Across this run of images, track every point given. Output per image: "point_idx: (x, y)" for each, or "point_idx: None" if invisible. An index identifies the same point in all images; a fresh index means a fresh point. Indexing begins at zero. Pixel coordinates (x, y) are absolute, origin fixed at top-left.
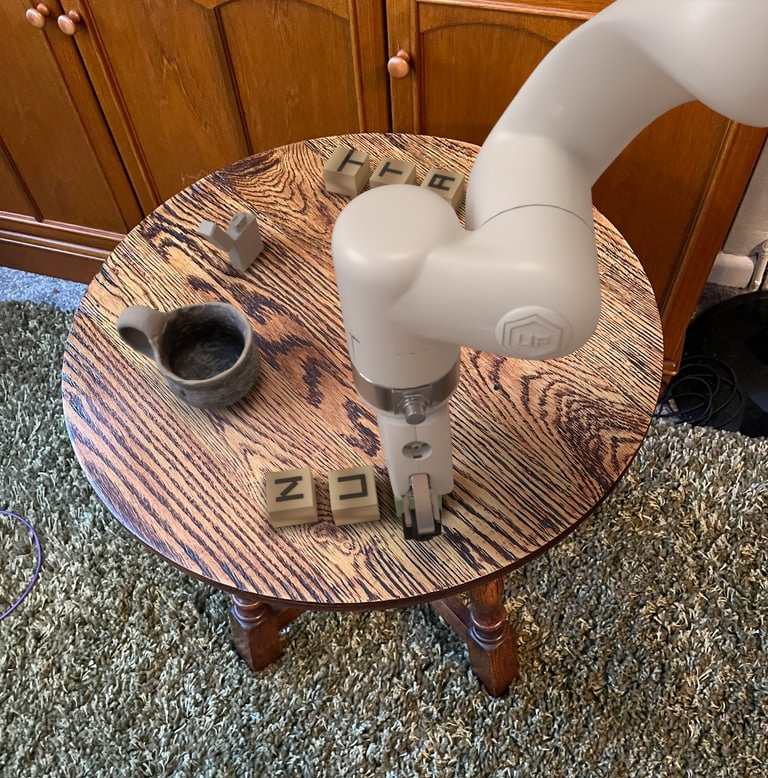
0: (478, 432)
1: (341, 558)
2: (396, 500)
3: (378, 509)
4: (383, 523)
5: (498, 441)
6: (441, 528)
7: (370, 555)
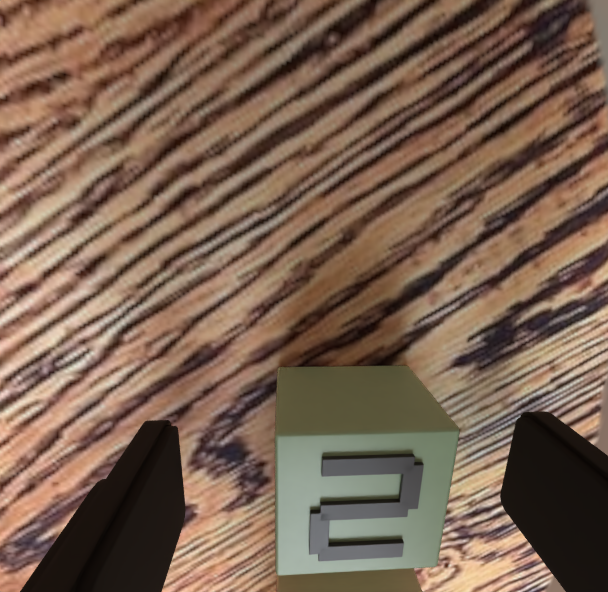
0: (129, 200)
1: (463, 581)
2: (435, 564)
3: (413, 568)
4: None
5: (176, 131)
6: (583, 438)
7: (476, 530)
